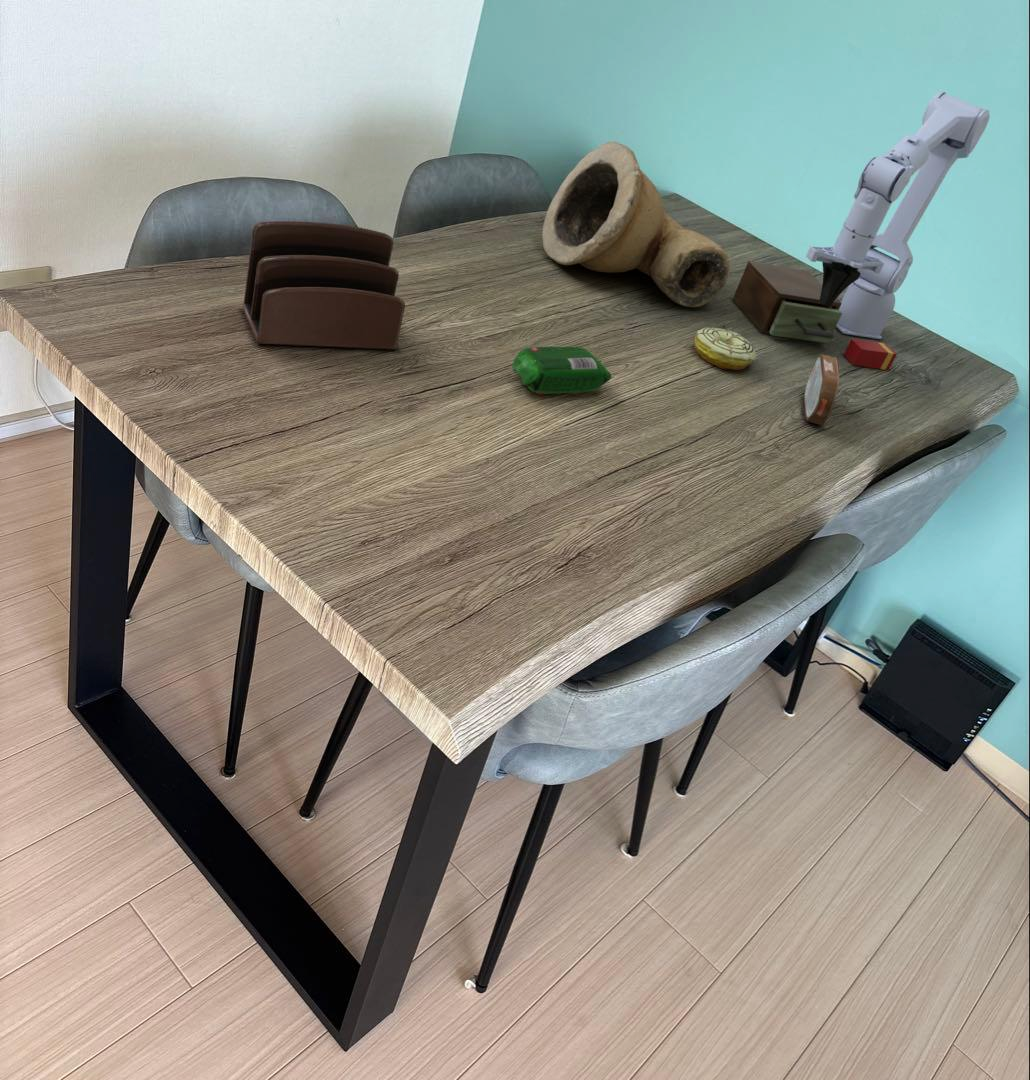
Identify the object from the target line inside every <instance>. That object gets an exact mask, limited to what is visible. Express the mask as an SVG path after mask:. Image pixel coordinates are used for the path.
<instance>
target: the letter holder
mask: <svg viewBox="0 0 1030 1080" xmlns="http://www.w3.org/2000/svg"><path fill="white" fill-rule="evenodd" d="M393 249H394V239H393V237H392V236H390V235H389V234H387V233H385V232H382V231H381V232H380V231H378V230H373V229H369V228H365V227H359V226H353V225H347V224H341V223H339V224H338V223H329V222H318V221H317V222H316V221H296V220H295V221H294V220H290V221H289V220H280V221H279V220H278V221H277V220H276V221H261V222H258V223H256V224H255V225H254V226H253V227H252V230H251V236H250V246H249V255H248V263H247V265H248V266H247V271H246V273H247V274H246V281H245V288H244V289H245V290H244V296H243V303H242V307H243V308H242V310H243V312H244V314H245V317H246V319H247V322H248V324H249V327H250V329H251V331H252V334H253V336H254V339H255V342H256V344H258V345H279V346H294V347H317V348H318V347H322V348H347V349H348V348H349V349H367V350H370V349H371V350H386V351H387V350H388V351H396V350H397V348H398V345H399V339H400V332H401V328H402V323H403V318H404V314H405V308H406V303H405V301H404V299H402V298H400V297H399V296H396V291H397V286H398V281H399V276H400V273H399V270H398V269H396V268H395V267H392V266H390V261H391V258H392V252H393Z"/></svg>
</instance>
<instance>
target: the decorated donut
mask: <svg viewBox="0 0 1030 1080" xmlns="http://www.w3.org/2000/svg"><path fill="white" fill-rule="evenodd" d="M694 348H695V351H696V354H698V355H699V356H700V358H702V359H703V360H705V361H706V362H708V363H709V364H711V365H713V366H715V367H718V368H720V369H726V370H732V371H733V370H734V371H739V370H743V369H745V368H746V367H749V365H751V364H752V363H754V362H755V361H756V360H757V353H756V350H755V348H754V346H753V345H752V344H751V342H749V340H748V339H746V338H745V337H743V336H742V335H741V334H739V333H737V332H735V331H732V330H728V329H724V328H720V327H703V328H701V329H698V330H697V332H696V334H695V337H694Z"/></svg>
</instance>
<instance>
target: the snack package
mask: <svg viewBox="0 0 1030 1080" xmlns="http://www.w3.org/2000/svg"><path fill="white" fill-rule="evenodd" d="M511 367H512V370H513V372H515V373H516V374H517V375H518V377H519V378H520V379H521V382H522V385H523V386H525V387H527V388H528V389H529V390H530V391H531V392H532V393H534V394H536V395H553V394H577V393H589V392H590V393H591V392H593V391H597V390H599V389H601V387H603V386H604V385H605V384H606V383H608V382H609V381H610V380H611V379H612V374H611V372H610V371H609V370H608V369H607V367H605V366H604V364H603V363H602V360H599V359H598V358H597V357H596V356H595V355H594V354H592V353H591V352H590V351H589V350H588V349H586V348H585V347H581V346H530V347H525V348H523V349H521V350H520V351H519V352H518V354H517V355H516V357H515V358H514V360H513V362H512V365H511Z"/></svg>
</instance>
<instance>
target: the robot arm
mask: <svg viewBox="0 0 1030 1080" xmlns="http://www.w3.org/2000/svg"><path fill="white" fill-rule="evenodd" d="M989 121H990V110H989V109H987V108H982V107H979V106H977V105H974V104H973V103H972V104H971V103H969V102H968V101H965V100H962V99H961V98H958V97H955V96H952V95H950V94H948V93H947V92H945V91H939V92H938V93H936V94H935V95H934V96H933V97H932V98H931V100H930V101H929V102H928V105H927V106H926V108H925V110H924V113H923V116H922V121H921V122H922V123H921V127H919V129H918V130H917V131H916V133H914V134H909V135H905V136H903V137H902V138H901V139H900V140H899V141H898V142H897V143H895V144H894V146H892V147H891V148H890V149H889V150H888V151H887V152H885V154H883V155H878V156H873V157H871V158H870V160H868V162H867V163H866V165H865V166H864V168H863V170H862V171H861V174H860V176H859V179H858V182H857V183H858V184H857V188H856V190H855V192H854V195H853V198H854V201H853V203H852V206H851V208H850V210H849V212H848V214H847V217H846V218H845V221H844V223H843V225H842V227H841V229H840V231H839V234H838V236H837V237H836V240H835V242H834V244H833V246H813V245H812V246H811V245H810V246H809V248H808V251H807V253H806V255H805V257H806V258H807V259H808V260H809V261H810V262H812V263H816V262H821V264H822V283H821V284H822V290H821V295H820V299H819V300H820V301H821V302H822V303H823V304H824V305H827V306H831V305H832V303H833V302H834V301H835V300H836V298H837V299H838V297H840V295H841V294H842V293H843V292H844V291H845V293H844V295H843V297H842V299H841V301H840V302H841V303H842V304H841V306H840V308H839V310H840V311H841V312H842V315H841V317H840V319H839V321H838V323H837V325H836V327H835V329H837V330H838V331H839V332H840V333H841V334H843V335H850V336H856V337H861V338H862V337H863V338H869V339H876V340H882V338H883V336H881V335H882V333H883V330H884V329H885V327H886V325H887V323H888V321H889V319H890V317H891V315H892V313H893V312H894V309H895V306H896V295H895V293H896V292H897V291H898V290H899V289H900V288H901V286H902V285H903V283H904V281H905V280H906V278H907V276H908V273H909V270H910V268H911V266H912V264H913V261H914V256H913V253H912V251H911V249H910V247H909V244H908V242H909V240H910V238H911V236H912V234H913V233H914V231H915V230H916V228H917V226H918V224H919V223H920V220H921V219H922V217H923V216H924V214H925V212H926V211H927V209H928V207H929V205H930V204H931V202H932V200H933V198H934V197H935V195H936V193H937V191H938V189H939V188H940V186H941V185H942V183H943V181H944V179H945V178H946V175H948V173H949V171H950V169H951V168H952V166H953V165H954V164H955V163H956V161H957V160H958V159H967V158H968V157H969V156H970V154H971V153H972V152H973V151H974V149H975V148H976V146H977V144H978V143H979V141H980V139H981V138H982V135H983V134H984V132H985V130H986V128H987V125H988V123H989ZM914 174H915V176H914ZM913 176H914V178H913V180H912V182H911V184H910V181H911V178H912V177H913ZM909 184H910V185H909ZM908 185H909V187H908V189H907V190H906V192H905V194H904V196H903V197H902V199H901V201H900V203H899V205H898V206H897V209H895V212H894V214H893V215H892V217H891V219H890V221H889V223H888V224H887V226H886V227H885V229H884V232H882V233H878V232H879V230H880V229H881V226H882V224H883V222H884V220H885V218H886V216H887V214H888V212H889V210H890V208H891V206H892V204H893V203H894V202H895V201H896V200H898V199H899V197H900V196H901V195H902V193H903V192H904V190H905V188H906V187H907V186H908ZM876 248H878V249H881V250H883V251H885V252H887V253H889V254H891V255H893V256H895V257H897V258H898V259H897V258H895V257H893V256H891V255H889V254H886V253H885V252H882V251H880V250H878V249H876Z"/></svg>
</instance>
